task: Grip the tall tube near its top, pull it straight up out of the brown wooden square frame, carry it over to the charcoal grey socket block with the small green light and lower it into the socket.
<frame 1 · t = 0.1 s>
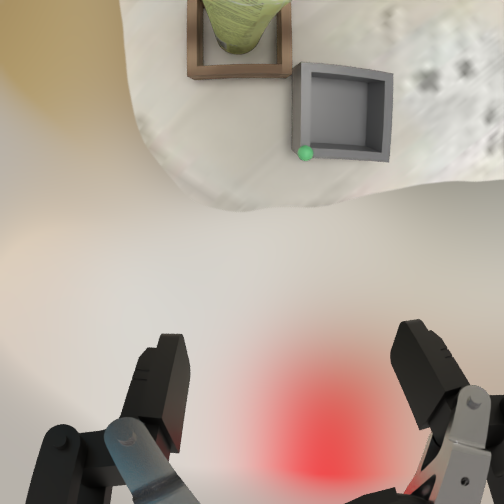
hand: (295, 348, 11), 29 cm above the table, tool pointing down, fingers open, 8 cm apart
socket block: (333, 110, 33), on the table
brown wooden square frame: (239, 37, 29), on the table
tube: (239, 37, 29), resting in brown wooden square frame
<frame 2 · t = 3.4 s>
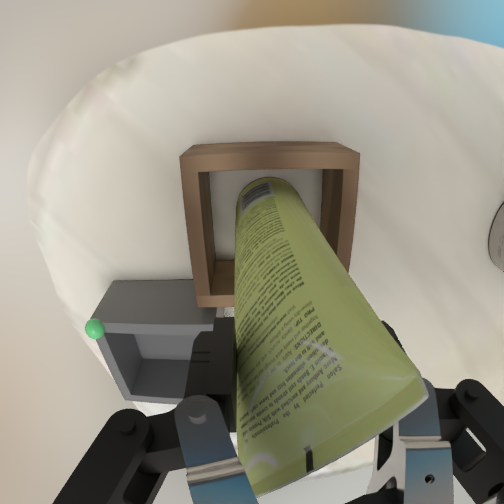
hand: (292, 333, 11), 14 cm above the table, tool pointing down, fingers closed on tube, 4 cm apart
socket block: (173, 324, 29), on the table
brown wooden square frame: (267, 209, 24), on the table
tube: (267, 208, 24), resting in brown wooden square frame, touching gripper
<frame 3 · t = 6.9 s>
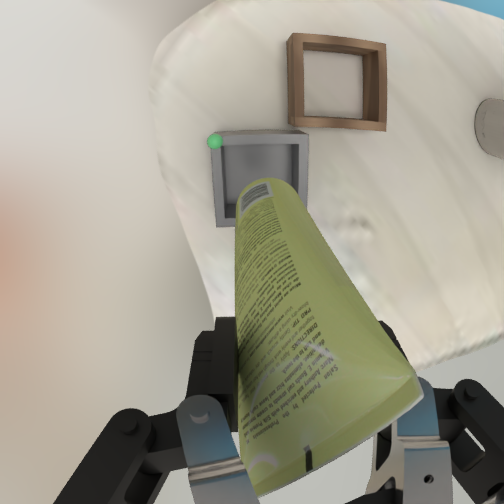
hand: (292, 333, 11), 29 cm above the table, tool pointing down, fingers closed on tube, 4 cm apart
socket block: (258, 169, 37), on the table
brown wooden square frame: (330, 83, 32), on the table
tube: (266, 209, 24), point 15 cm above the table, touching gripper
when the fingers open (15 cm above the table, at t = 10.3 s): tube stays where it is, resting on socket block.
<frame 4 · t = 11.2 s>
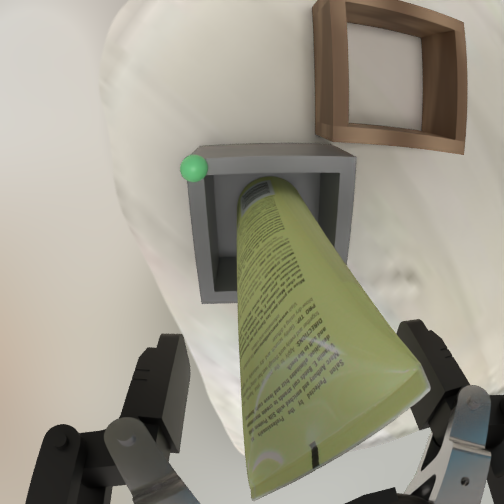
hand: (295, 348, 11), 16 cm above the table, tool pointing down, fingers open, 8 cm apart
socket block: (266, 205, 25), on the table
brown wooden square frame: (378, 74, 20), on the table
tube: (267, 207, 24), point 1 cm above the table, touching socket block
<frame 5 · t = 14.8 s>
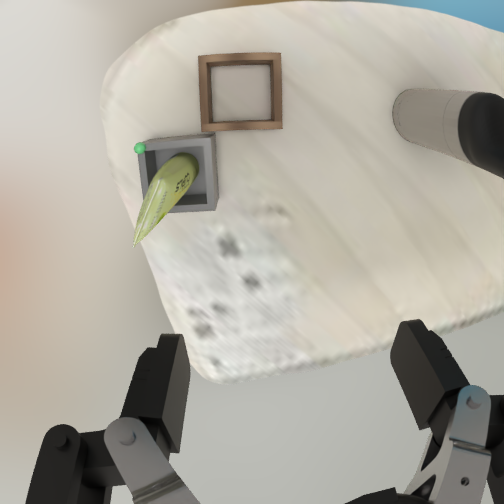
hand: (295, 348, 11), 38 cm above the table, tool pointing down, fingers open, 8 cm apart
socket block: (184, 168, 45), on the table
brown wooden square frame: (241, 92, 40), on the table
tube: (182, 168, 44), point 1 cm above the table, touching socket block
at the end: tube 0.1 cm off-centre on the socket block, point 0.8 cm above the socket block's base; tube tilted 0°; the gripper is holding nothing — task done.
